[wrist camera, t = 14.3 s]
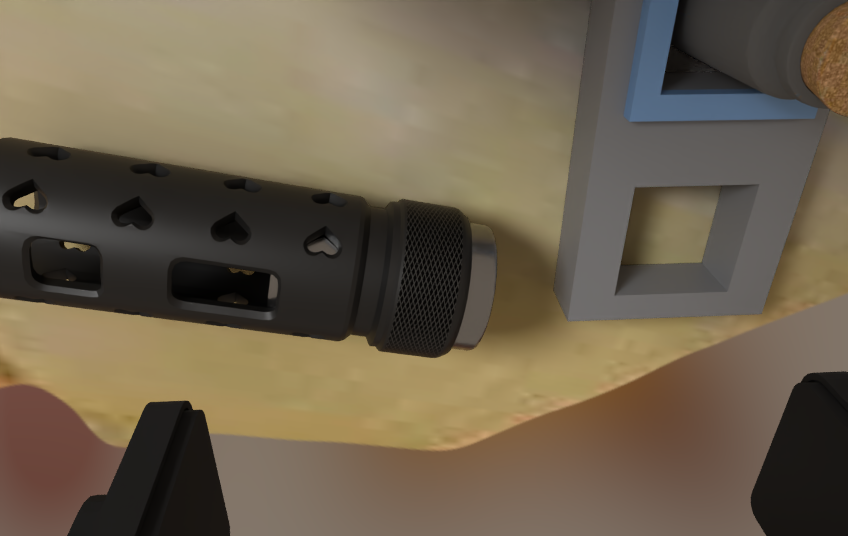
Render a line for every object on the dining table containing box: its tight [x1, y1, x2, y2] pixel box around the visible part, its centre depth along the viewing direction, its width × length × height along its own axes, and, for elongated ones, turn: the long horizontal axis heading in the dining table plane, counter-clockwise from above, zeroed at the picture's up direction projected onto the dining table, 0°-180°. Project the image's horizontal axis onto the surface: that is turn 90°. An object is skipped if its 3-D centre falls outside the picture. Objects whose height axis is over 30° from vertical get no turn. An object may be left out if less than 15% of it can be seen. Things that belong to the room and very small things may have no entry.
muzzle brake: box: [0, 138, 497, 358], centre depth 39 cm, size 10×28×10 cm, turn 78°
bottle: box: [671, 0, 848, 117], centre depth 32 cm, size 6×6×15 cm
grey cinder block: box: [553, 0, 830, 321], centre depth 40 cm, size 26×14×5 cm, turn 0°
